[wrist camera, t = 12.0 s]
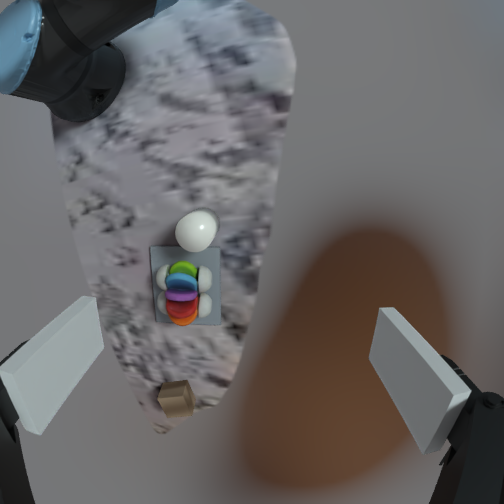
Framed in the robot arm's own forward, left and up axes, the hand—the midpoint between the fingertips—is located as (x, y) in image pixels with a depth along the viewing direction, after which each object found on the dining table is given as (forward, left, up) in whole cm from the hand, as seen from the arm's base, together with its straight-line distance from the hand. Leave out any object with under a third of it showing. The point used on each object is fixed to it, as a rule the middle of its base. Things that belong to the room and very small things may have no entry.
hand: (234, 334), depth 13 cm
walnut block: (+33, -12, -34) cm, 49 cm away
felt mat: (+11, -9, -34) cm, 37 cm away
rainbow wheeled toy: (+10, -9, -34) cm, 37 cm away
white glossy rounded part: (+1, -6, -34) cm, 35 cm away
